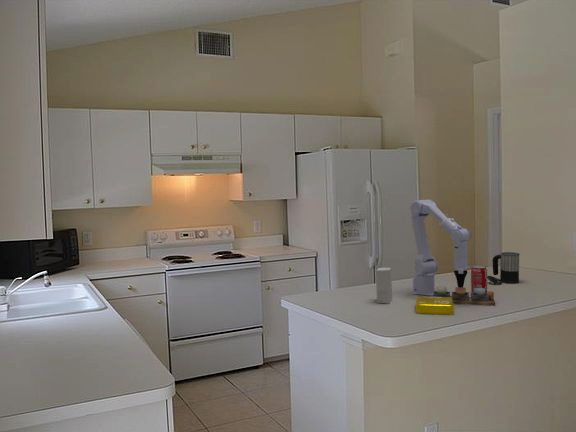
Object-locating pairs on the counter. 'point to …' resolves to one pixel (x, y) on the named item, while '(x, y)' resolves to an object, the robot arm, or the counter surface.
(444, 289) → the sage button
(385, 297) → the skincare box
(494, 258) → the milk frother
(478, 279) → the soda can
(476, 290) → the slate button
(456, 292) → the terracotta button
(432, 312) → the element tile
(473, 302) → the panel
